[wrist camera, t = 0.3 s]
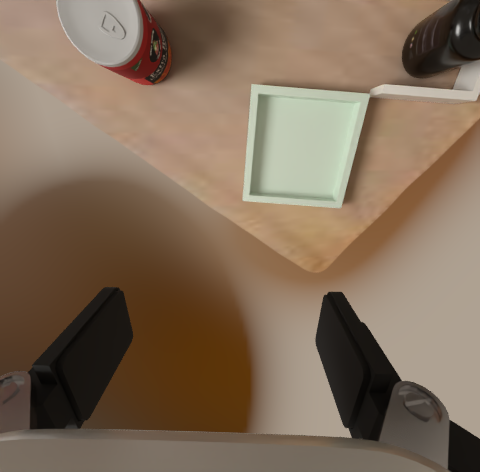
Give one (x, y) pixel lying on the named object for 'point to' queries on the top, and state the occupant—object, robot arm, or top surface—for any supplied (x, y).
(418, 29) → the supplement bottle
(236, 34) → the top surface
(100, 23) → the canned food
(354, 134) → the tray
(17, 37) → the top surface
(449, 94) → the bay
